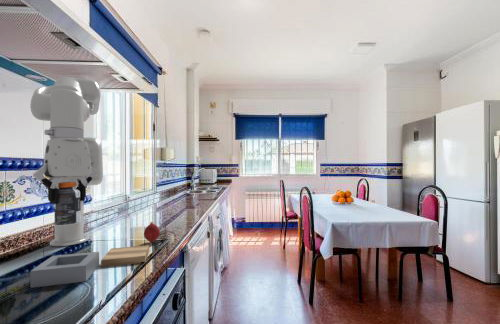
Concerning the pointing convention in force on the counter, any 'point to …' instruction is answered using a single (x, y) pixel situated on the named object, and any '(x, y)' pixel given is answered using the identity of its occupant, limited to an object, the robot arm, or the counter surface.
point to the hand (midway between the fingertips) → (67, 201)
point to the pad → (125, 256)
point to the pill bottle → (68, 205)
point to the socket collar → (64, 269)
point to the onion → (151, 232)
